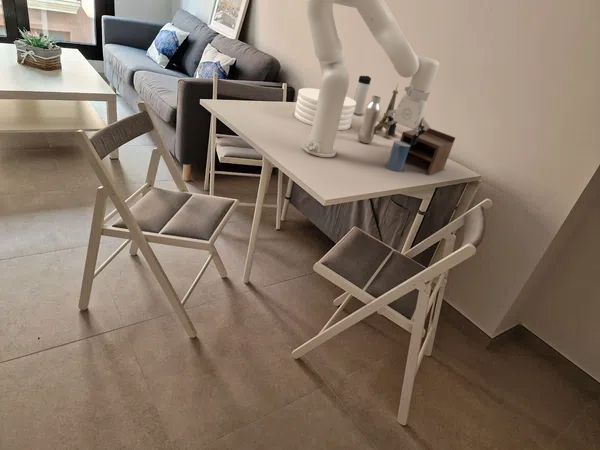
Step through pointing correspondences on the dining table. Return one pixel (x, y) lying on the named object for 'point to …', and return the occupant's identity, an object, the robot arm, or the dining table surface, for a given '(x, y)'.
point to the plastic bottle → (370, 120)
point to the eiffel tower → (383, 121)
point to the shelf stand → (430, 148)
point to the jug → (398, 155)
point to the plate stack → (309, 102)
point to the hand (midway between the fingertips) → (401, 140)
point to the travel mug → (361, 94)
